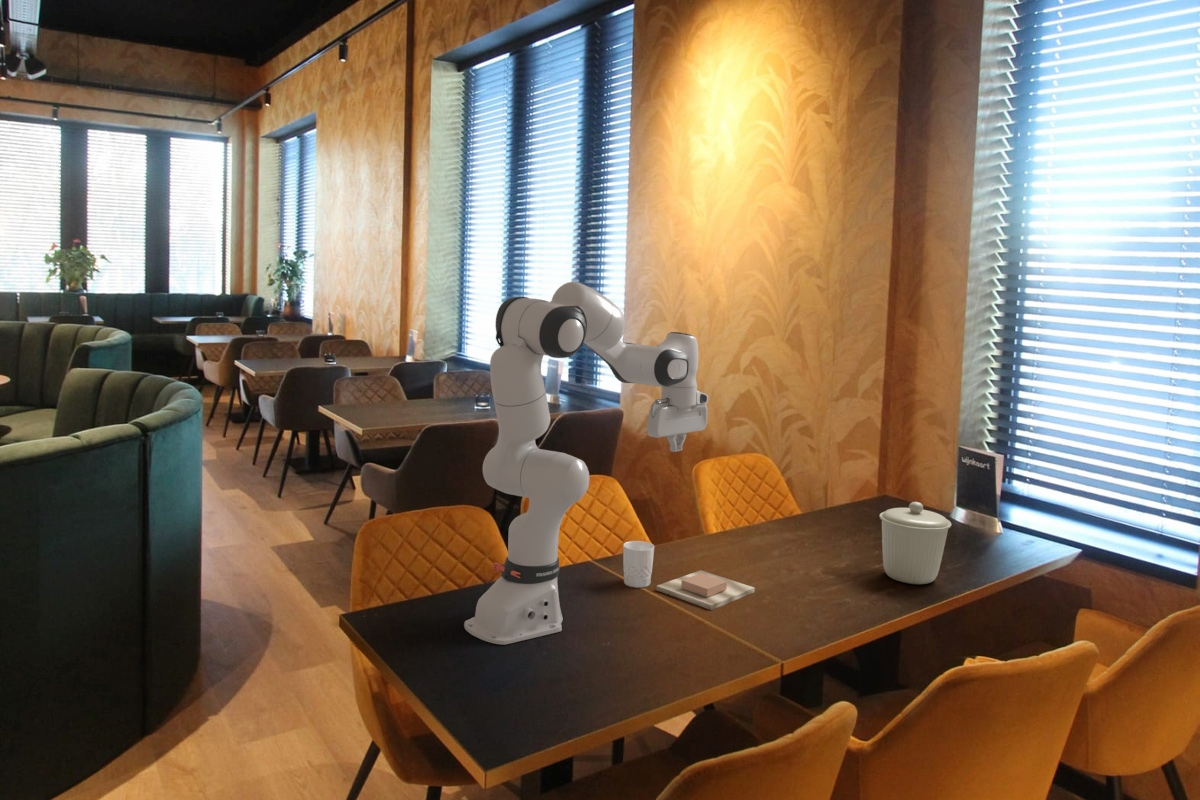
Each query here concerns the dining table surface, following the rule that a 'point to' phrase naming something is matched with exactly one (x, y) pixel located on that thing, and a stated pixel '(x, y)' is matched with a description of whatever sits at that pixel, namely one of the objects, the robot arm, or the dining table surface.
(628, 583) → the white cup
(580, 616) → the dining table surface
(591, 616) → the dining table surface
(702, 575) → the block
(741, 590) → the board
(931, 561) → the canister
